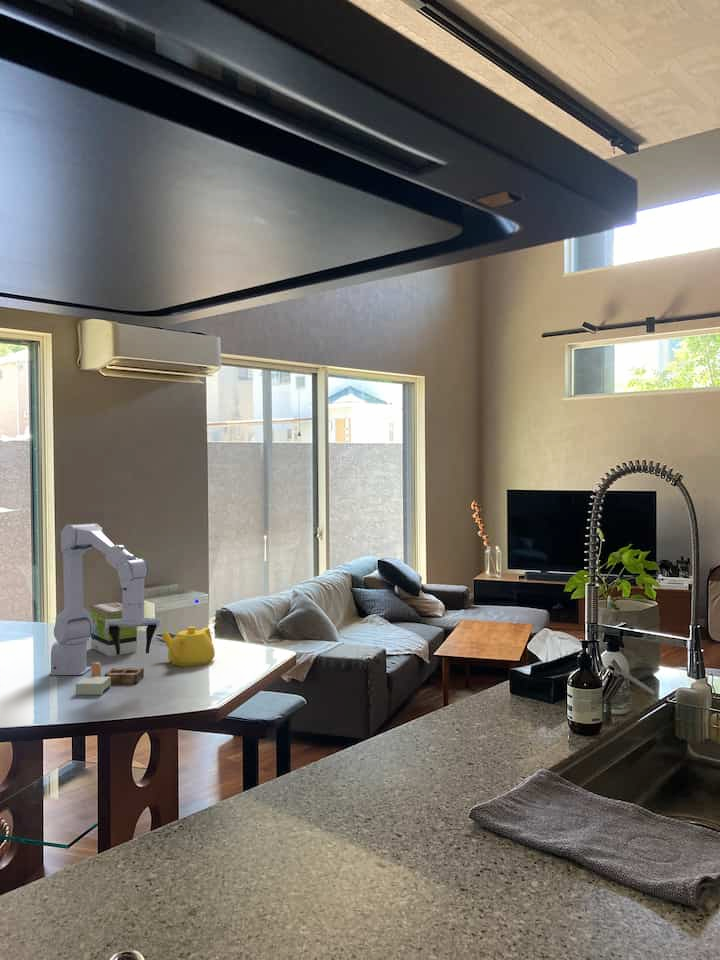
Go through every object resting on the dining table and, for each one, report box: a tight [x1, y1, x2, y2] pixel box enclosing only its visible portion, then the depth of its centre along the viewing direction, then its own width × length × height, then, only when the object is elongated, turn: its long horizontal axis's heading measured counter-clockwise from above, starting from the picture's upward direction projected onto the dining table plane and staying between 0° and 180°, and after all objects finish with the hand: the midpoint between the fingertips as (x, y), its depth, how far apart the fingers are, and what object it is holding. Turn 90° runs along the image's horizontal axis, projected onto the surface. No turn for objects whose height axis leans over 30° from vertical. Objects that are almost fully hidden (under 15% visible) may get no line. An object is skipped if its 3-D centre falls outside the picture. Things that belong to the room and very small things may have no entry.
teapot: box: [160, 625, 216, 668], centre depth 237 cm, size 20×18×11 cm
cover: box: [75, 676, 112, 696], centre depth 203 cm, size 7×7×3 cm
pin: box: [90, 661, 102, 677], centre depth 210 cm, size 2×2×6 cm
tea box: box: [90, 602, 138, 657], centre depth 250 cm, size 15×10×15 cm
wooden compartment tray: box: [103, 667, 145, 685], centre depth 214 cm, size 9×7×2 cm
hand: (132, 653), depth 206 cm, fingers open, 7 cm apart
